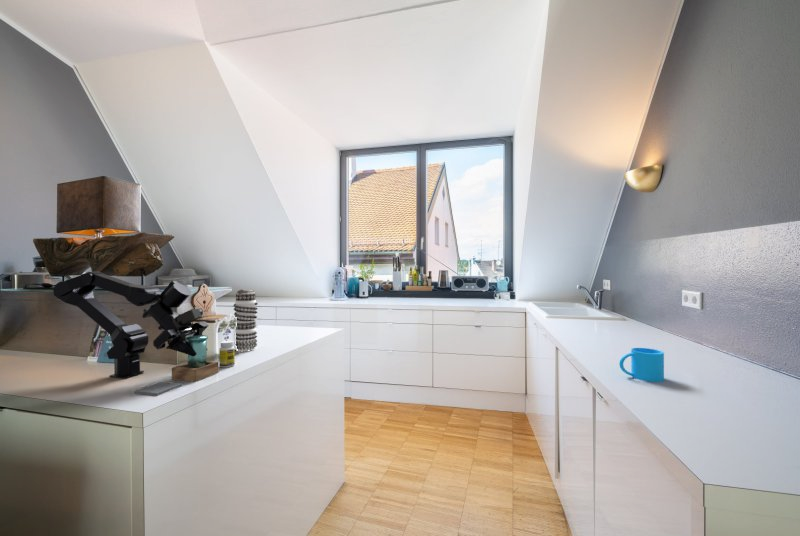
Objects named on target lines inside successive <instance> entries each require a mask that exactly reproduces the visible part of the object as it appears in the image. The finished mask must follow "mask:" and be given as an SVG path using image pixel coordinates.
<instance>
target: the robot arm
mask: <svg viewBox="0 0 800 536" xmlns="http://www.w3.org/2000/svg"><path fill="white" fill-rule="evenodd" d="M97 288H99V289H103V290H105V291H108V292H110V293H114V294H116V295H119V296H122V297H124V298H125V299H126V301H127V302H129V303H131V304H133V305H134V306H136V307H143V306H144V307H146V306H149V307H148V308H146V309H145V308H144V309H143V313H142V317H141V318H143V319H146V318H147V319H148V318H152V319H153V320H154V321H155V322H156V323H157V324H158V325H159V326H158V327H157V328H158V330H159V331H161V330H162V331H161V333H160V334H158V336H156V338H155V339H154V340H153V341H152V344H153V347H154V348H155V349H156V350H157V351H158V350H162V349H164V348H166V349H167V350H172V351H176V352H179V353H182V354H185V355H187V356H188V355H190V356H193V357H194V356H195V355H196V352H195V351H194V349H193V348H192V347H191V346H190V344H189V343H188V341H187V340H186V338H187V337H190V336H196V335H203V332H205V330H206V329H207V328H208V327H209V324H208V322H206V321H205V320H202V321H201V320H200V321H197V322H194V321H196V320H198V319H202V318H203V314H204V311H203V310H202V309H201V308H199V306H196V307H194V308H191V309H190V310H187V311H184V312H179V313H178V312H176V311H175V309H174V308H179V307H181V305H182V304H183V303H184V302H185V301H186V300H187V299H188V298H189V297H190V296H191V295H192V291H191V289H190V288H189V287H188V286H185V285H184V284H182V283H179V282H178V281H177V280H172V281H170V282H169V284H168V285H167V286H166V287H165V288H164V289H163V290H160V288H158V287H156V286H151V285H144V284H135V283H132V282H129V281H126V280H123V279H120V278H116V277H115V276H114V277H113V276H111V275H108V274H105V273H104V272H102V271H87V272H84V273H83V274H79V275H78V276H75V277H72V278H69V279H66V280H64V281H59V282H56V283H55V285H54V287H53V289H52V290H53V296H54V297H55V298H56V299H58V300H59V301H61V302H62V303H65V304H68V305H69V306H75V307H77V308H78V309H79V310H80V311H82V312H83V313H84V314H85V315H86V316H87V317H89V318H90V319H91V320H92V321H94V323H96V324H97V325H98V326H99V327H101V329H103V330H104V331H105V332H106V333H107V334H108V335H110V341H111V344H112V346H111V347H110V349H108V351H107V352H106V354H107V355H106V356H107V358H108V359H109V360H114V361H113V362H114V364H113V365H114V373H113V374H110V375H109V377H110V378H118V379H127V378H131V377H133V376H137V375H140V374H144V372H145V371H144V370H141V360H140V354H143V353H145V351H146V347H147V346H148V344H149V338H150V337H149V335H148V334H147V333H146V332H147V330H145V329H143V328H142V327H141V326H140V325H139V324H138V323H134V324H129V325H128V324H126V323H125V322H124V321H122V320H121V318H119V317H118V316H116V315H115V314H114V313H113V312H112V311H111V310H110V309H109V308H107V306H105V305H104V304H103V303H102V302H100V301H99V300H98V299H97V298H96V297H95V295H94V290H96V289H97ZM166 343H167V344H168V345H167V346H166ZM207 351H208V348H207Z"/></svg>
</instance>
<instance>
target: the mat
mask: <svg viewBox="0 0 800 536" xmlns="http://www.w3.org/2000/svg"><path fill="white" fill-rule="evenodd" d="M182 386H183V383H178V382H167V381H158V382H155V383H152V384H149V385H147V386H144V387H142V388H139V389H136V390H134V391H133V394H136V395H137V394H139V395H148V396H149V395H150V396H160V395H163V394H165V393H168V392H170V391H173V390H175V389H178V388H181V387H182Z"/></svg>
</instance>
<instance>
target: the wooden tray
mask: <svg viewBox="0 0 800 536" xmlns="http://www.w3.org/2000/svg"><path fill="white" fill-rule="evenodd" d="M219 367H220V366H219V361H215V360H213V361H212V360H207V365H206V366H203V367H200V368H188V362H185V363H182V364H179V365H175V366H173V367H171V380H173V381H174V380H175V381H184V382H185V381H186V382H194V383H195V382H196V381H197V382H199V381H201V380H204V379H206V378H209V377H211V376H214V375H217V374H219V372H220V371H219Z"/></svg>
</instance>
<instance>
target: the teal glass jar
mask: <svg viewBox="0 0 800 536" xmlns="http://www.w3.org/2000/svg"><path fill="white" fill-rule="evenodd" d="M208 339H209V335H206V334H205V335H204V334H202V335H196V336H190V337H186V341H188V343H189V344H190V346H191V347H192V348H193V349H194V351H195V352H196V355H195V356H194V357H193V356H190V355H187V363H188V368H200V367H203V366H206V365H207V361H208V360H207V359H208V355H207V353H208V352H207V351H208V350H207V349H208V345H207V344H208V342H207V341H208Z"/></svg>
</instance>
